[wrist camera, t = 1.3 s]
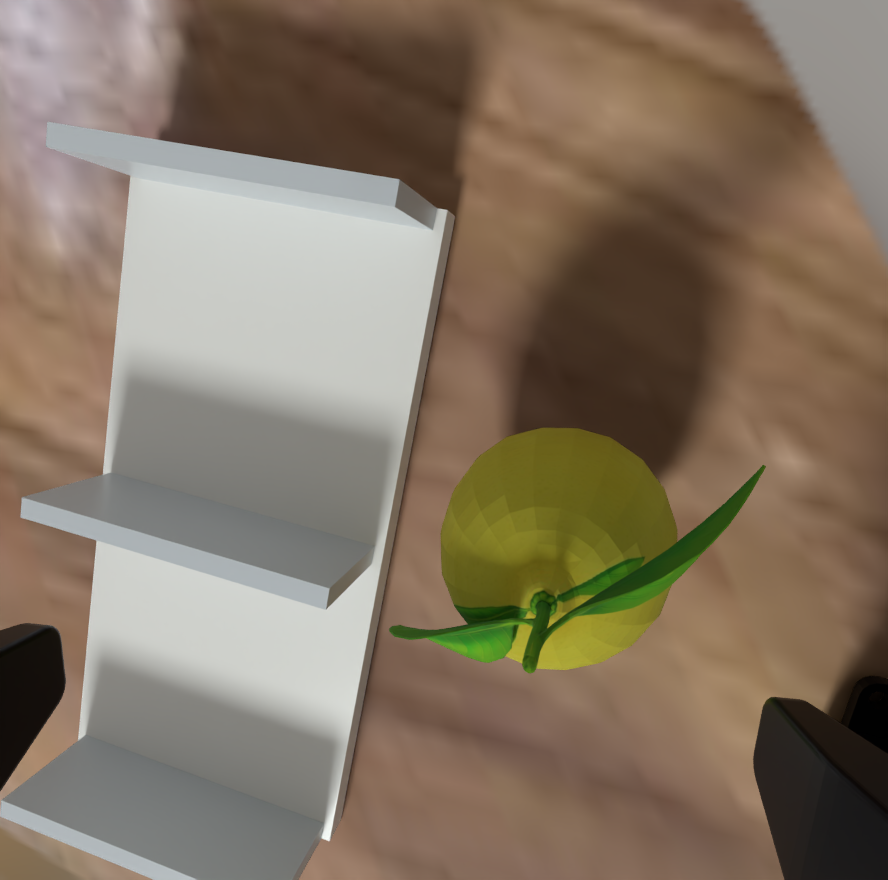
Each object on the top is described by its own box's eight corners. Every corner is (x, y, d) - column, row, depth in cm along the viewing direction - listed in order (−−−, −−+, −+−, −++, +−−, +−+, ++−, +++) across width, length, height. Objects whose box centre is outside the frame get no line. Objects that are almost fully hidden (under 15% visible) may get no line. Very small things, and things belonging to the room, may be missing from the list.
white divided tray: (455, 216, 19) (412, 181, 15) (341, 820, 23) (280, 931, 19) (154, 164, 21) (37, 120, 17) (97, 730, 25) (-8, 813, 21)
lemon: (707, 419, 18) (825, 511, 9) (666, 614, 19) (729, 888, 10) (472, 382, 20) (350, 426, 10) (446, 566, 21) (313, 766, 11)
